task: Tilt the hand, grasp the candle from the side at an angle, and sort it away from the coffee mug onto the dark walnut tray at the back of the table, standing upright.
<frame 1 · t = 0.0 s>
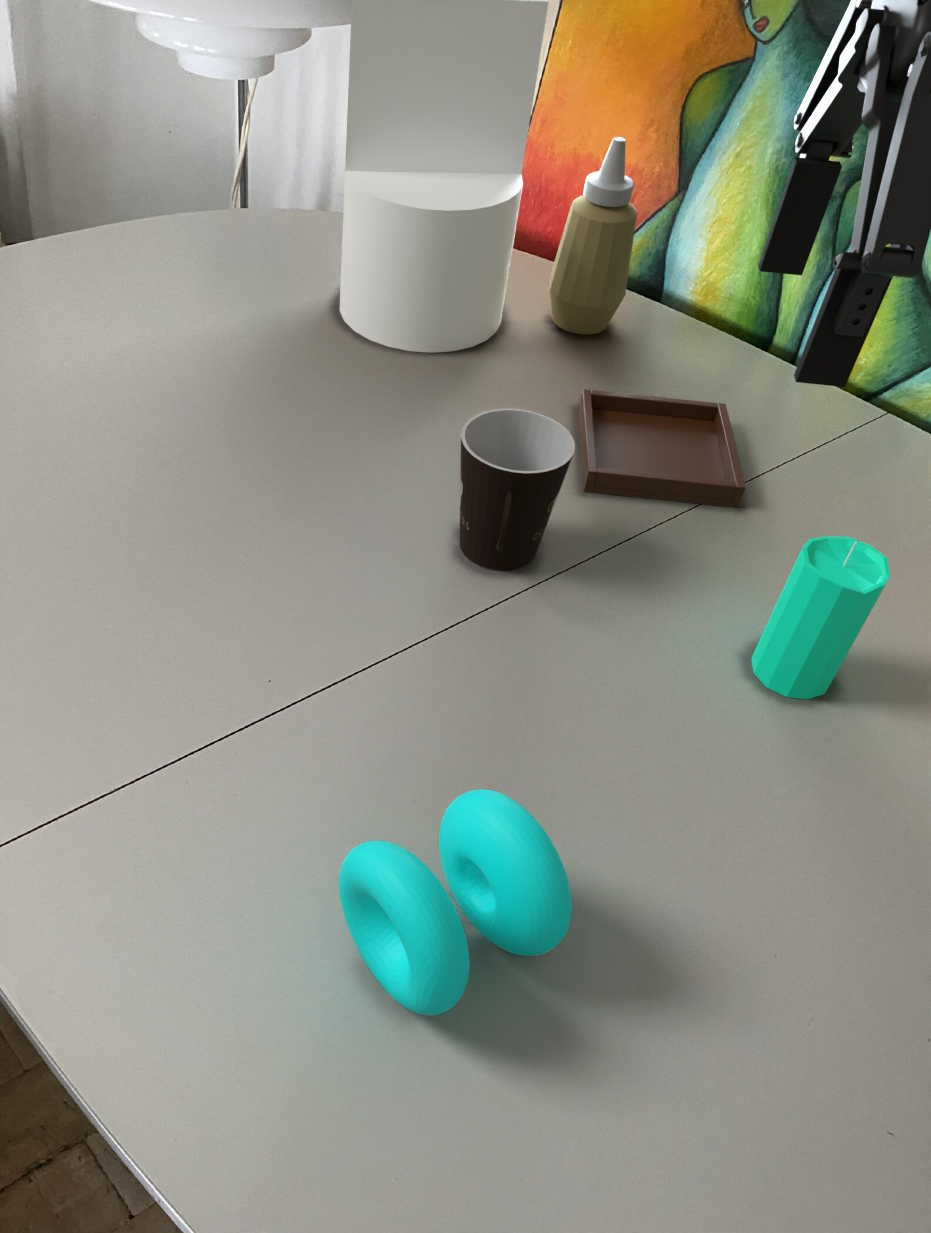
hand: (797, 322, 64), 25 cm above the table, tool pointing down, fingers open, 13 cm apart
candle: (790, 672, 80), on the table
donuts: (442, 947, 63), on the table
walnut tray: (654, 455, 97), on the table
squeeze bottle: (578, 324, 113), on the table
coffee mug: (488, 556, 87), on the table
cylinder: (420, 312, 113), on the table
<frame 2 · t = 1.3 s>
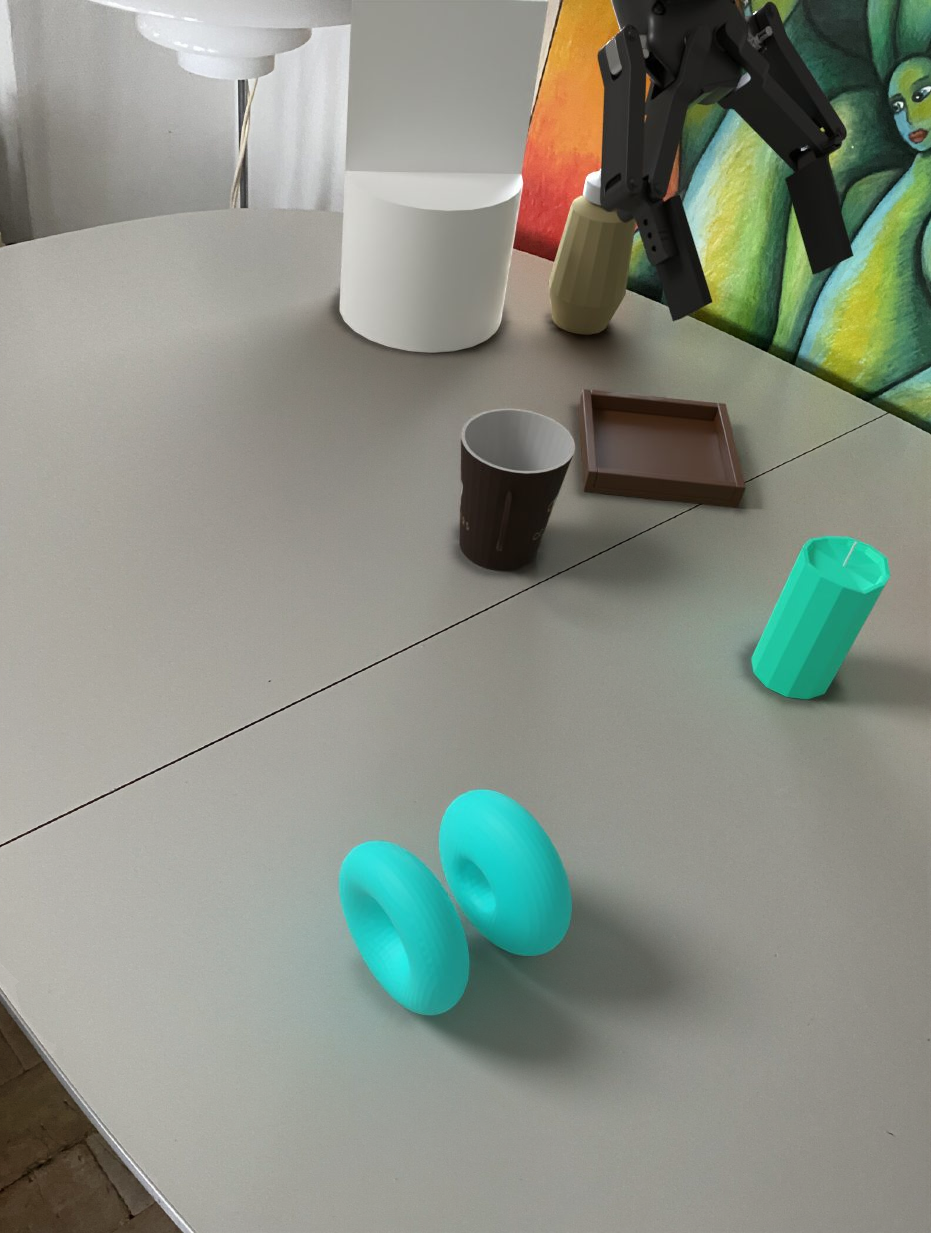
hand: (765, 288, 69), 24 cm above the table, tool tilted 45°, fingers open, 13 cm apart
nothing on the table moved.
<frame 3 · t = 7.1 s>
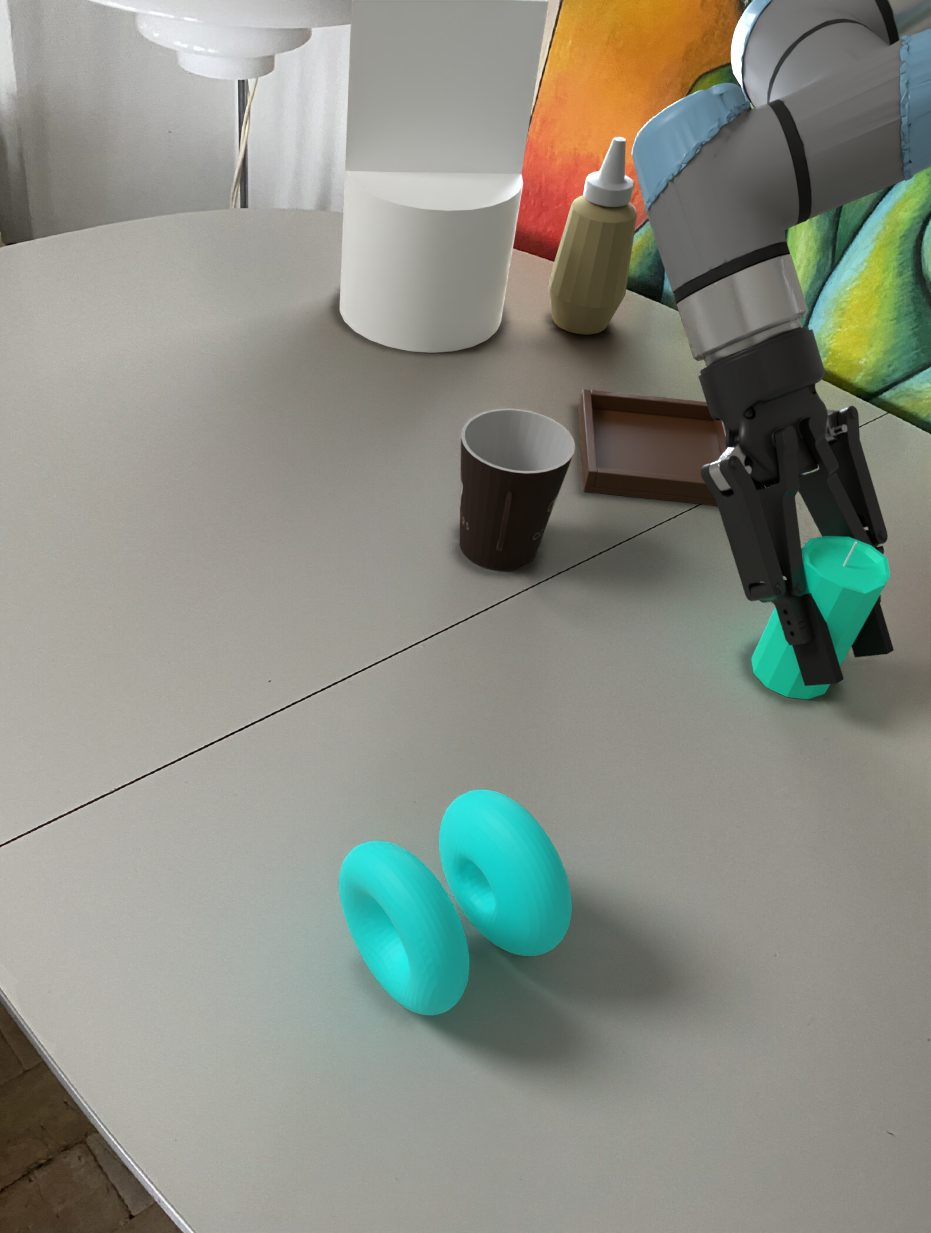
hand: (849, 667, 75), 3 cm above the table, tool tilted 45°, fingers closed on candle, 5 cm apart
candle: (790, 672, 80), on the table, touching gripper
everything else where it was.
when the fingers open (4 cm above the table, at t = 16.6 s): candle stays where it is, resting on walnut tray.
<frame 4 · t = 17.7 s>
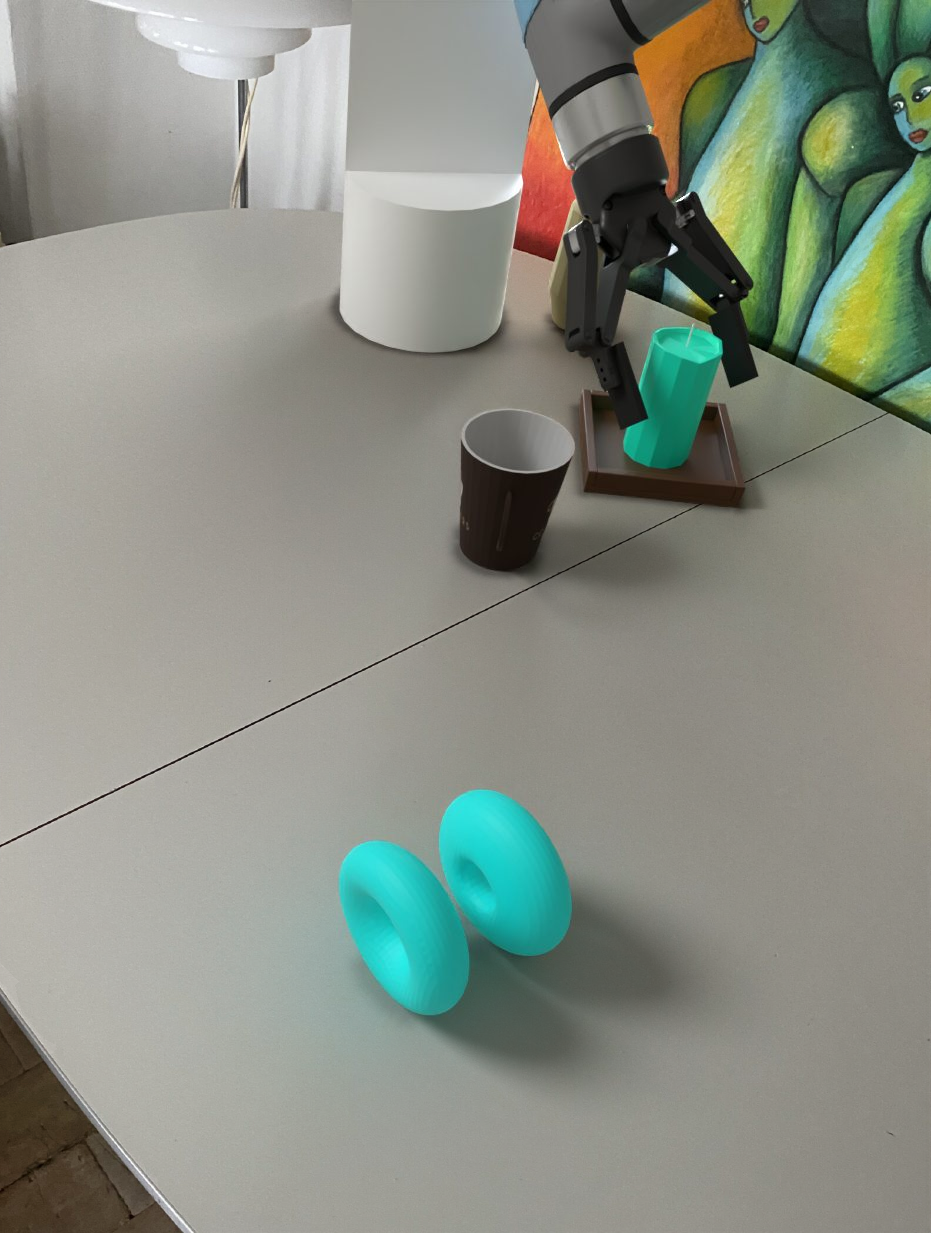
hand: (691, 403, 91), 6 cm above the table, tool tilted 45°, fingers open, 13 cm apart
candle: (654, 451, 97), resting on walnut tray
everything else where it was.
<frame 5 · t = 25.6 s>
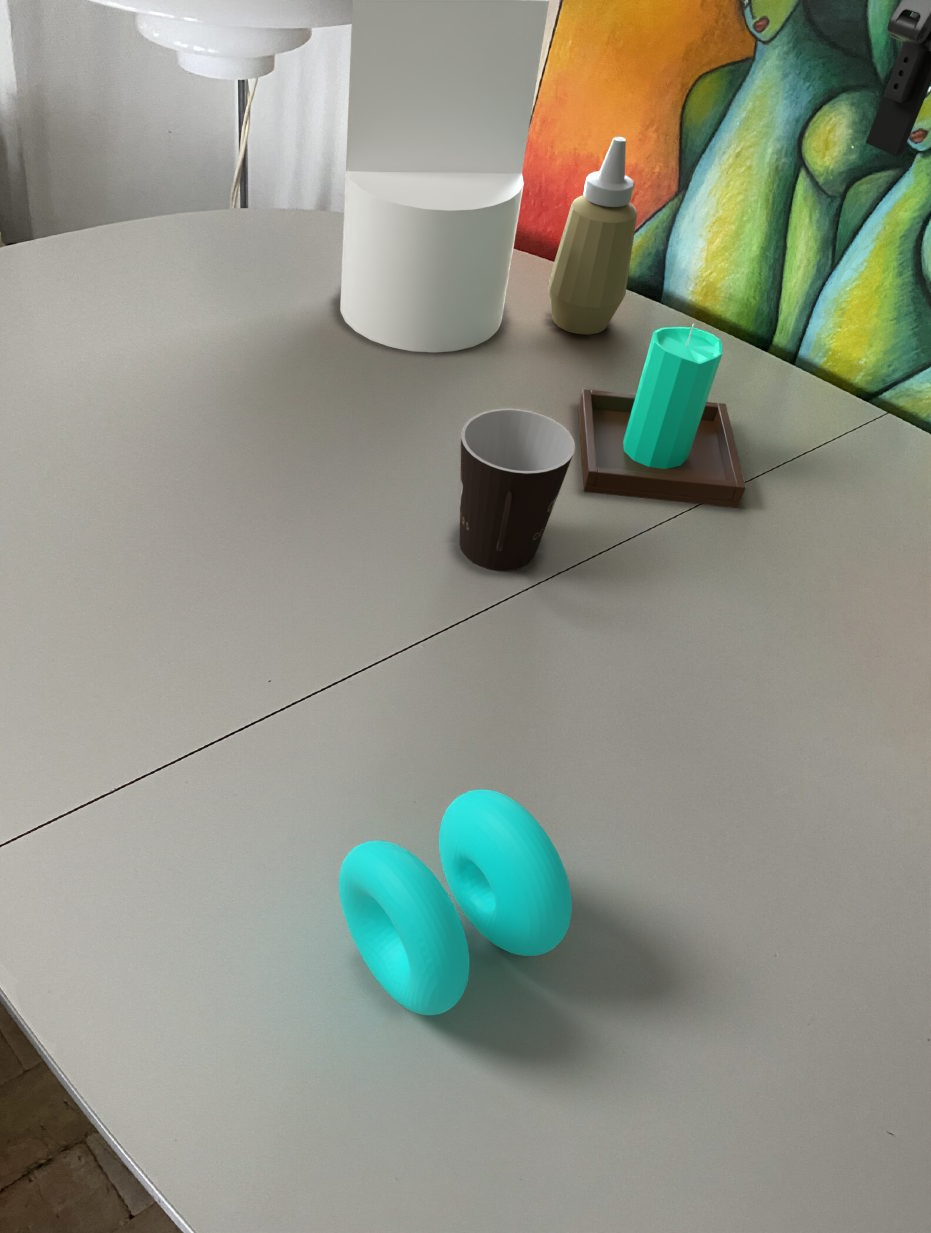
nothing on the table moved.
at the end: candle inside the target area in the walnut tray (0.1 cm from its centre), point 0.4 cm above the walnut tray's base; candle tilted 0°; the gripper is holding nothing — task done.
